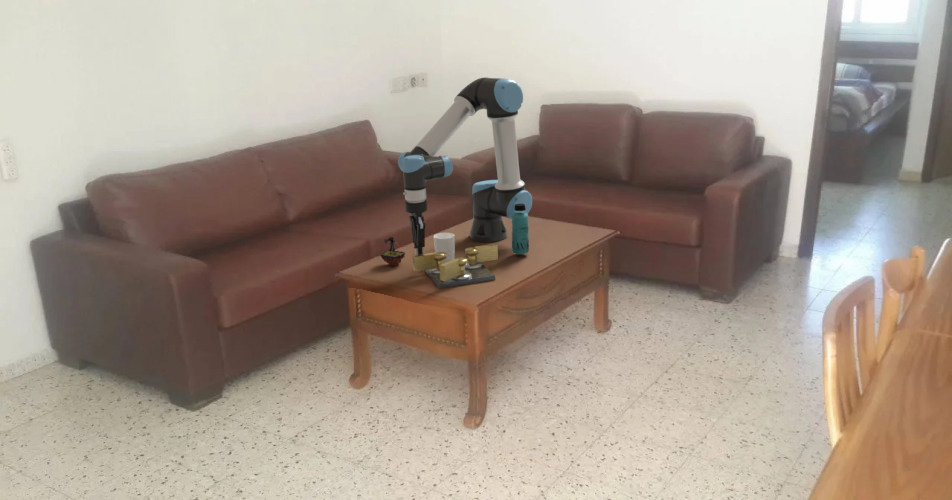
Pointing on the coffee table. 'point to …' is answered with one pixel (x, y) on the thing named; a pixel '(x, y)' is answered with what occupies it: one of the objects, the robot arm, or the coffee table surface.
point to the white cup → (445, 245)
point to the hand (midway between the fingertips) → (420, 264)
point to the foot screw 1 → (428, 261)
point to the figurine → (392, 253)
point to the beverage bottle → (520, 230)
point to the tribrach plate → (471, 276)
